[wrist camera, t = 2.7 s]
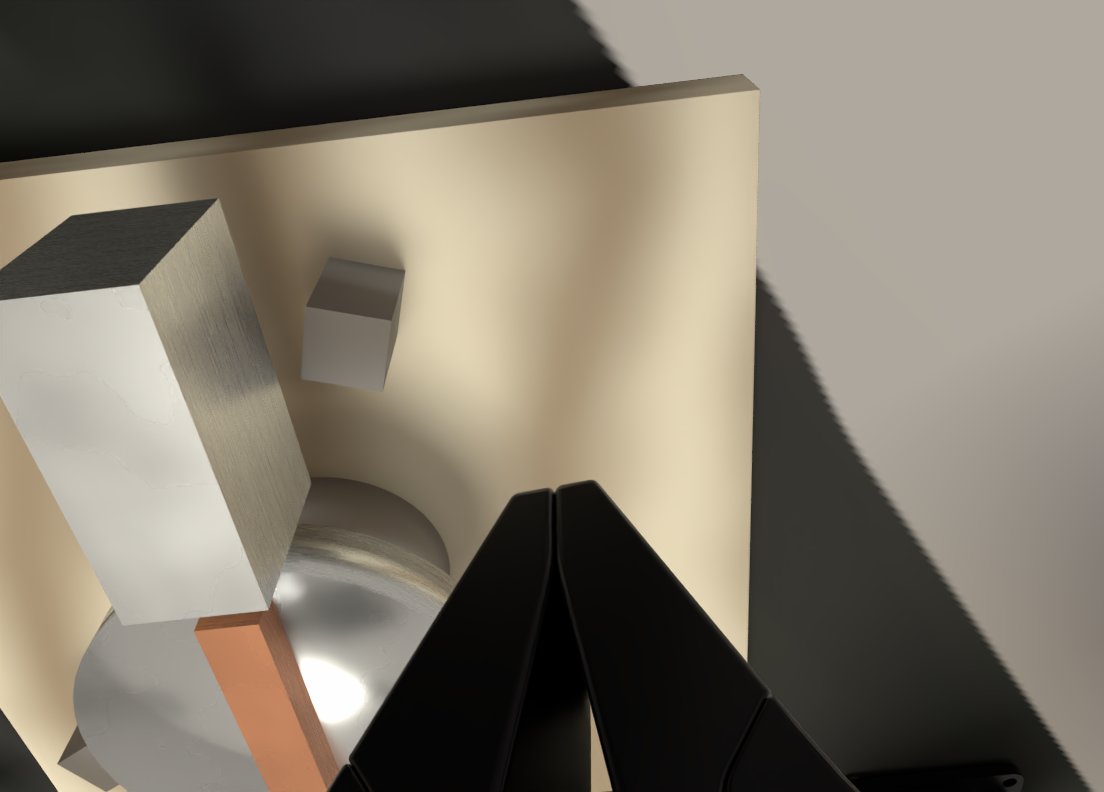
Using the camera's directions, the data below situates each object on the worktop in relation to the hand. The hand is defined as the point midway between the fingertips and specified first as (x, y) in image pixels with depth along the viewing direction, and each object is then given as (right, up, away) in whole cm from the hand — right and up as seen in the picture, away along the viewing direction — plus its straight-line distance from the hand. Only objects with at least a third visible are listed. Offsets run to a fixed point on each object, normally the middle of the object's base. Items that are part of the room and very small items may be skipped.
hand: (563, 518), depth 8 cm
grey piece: (-6, -2, +10) cm, 12 cm away
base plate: (-6, -3, +15) cm, 16 cm away
